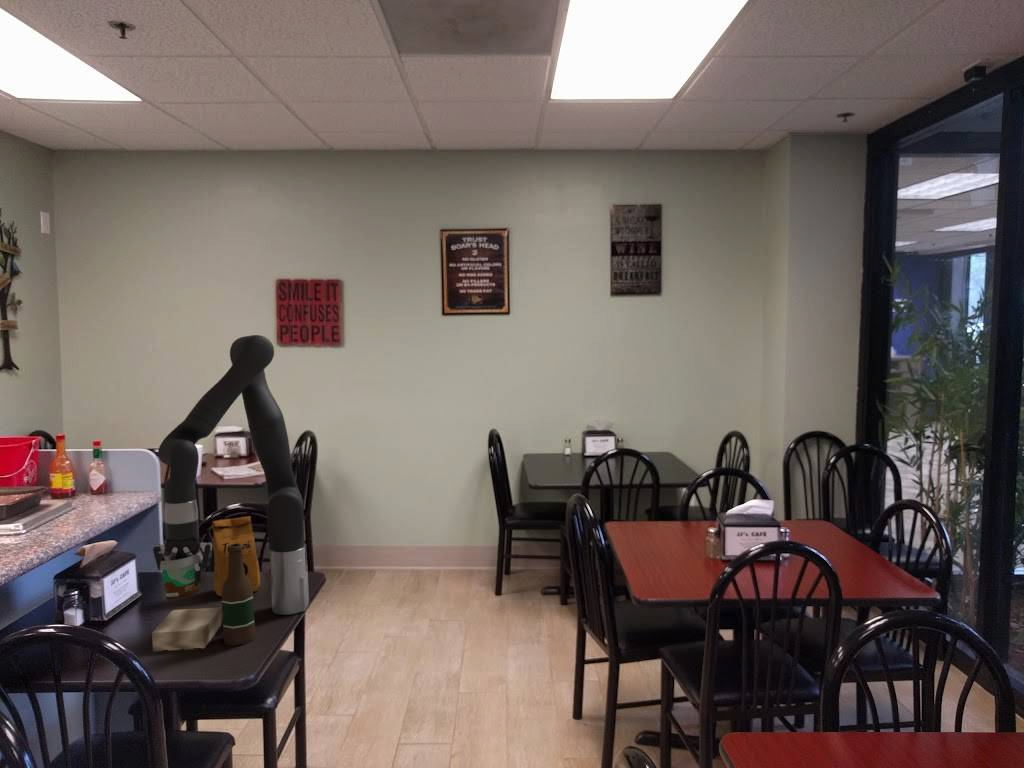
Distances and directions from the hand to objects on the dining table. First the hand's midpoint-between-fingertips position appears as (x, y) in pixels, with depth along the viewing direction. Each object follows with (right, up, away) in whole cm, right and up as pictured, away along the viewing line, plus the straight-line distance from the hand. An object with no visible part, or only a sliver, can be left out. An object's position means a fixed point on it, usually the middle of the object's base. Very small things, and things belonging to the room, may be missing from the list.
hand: (185, 584), depth 185 cm
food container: (+1, -2, 0) cm, 3 cm away
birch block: (0, -14, +1) cm, 14 cm away
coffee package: (+1, -11, +32) cm, 34 cm away
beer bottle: (+14, -14, -1) cm, 19 cm away
